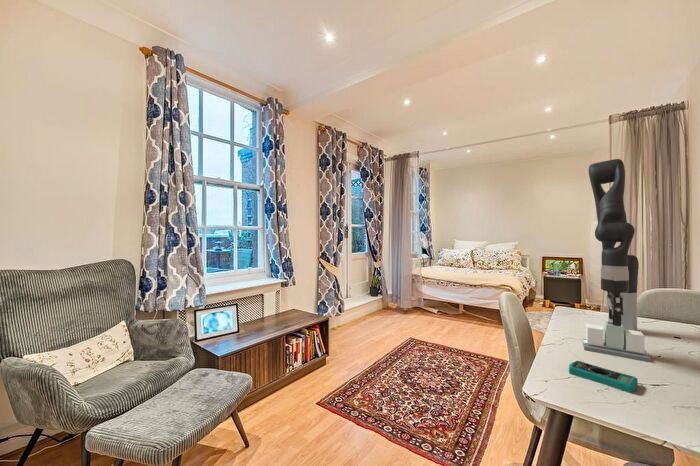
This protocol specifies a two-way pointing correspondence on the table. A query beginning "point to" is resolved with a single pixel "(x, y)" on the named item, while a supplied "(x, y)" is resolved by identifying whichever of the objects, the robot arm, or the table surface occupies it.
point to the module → (613, 335)
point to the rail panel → (631, 348)
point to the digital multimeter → (604, 376)
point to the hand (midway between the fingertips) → (614, 322)
